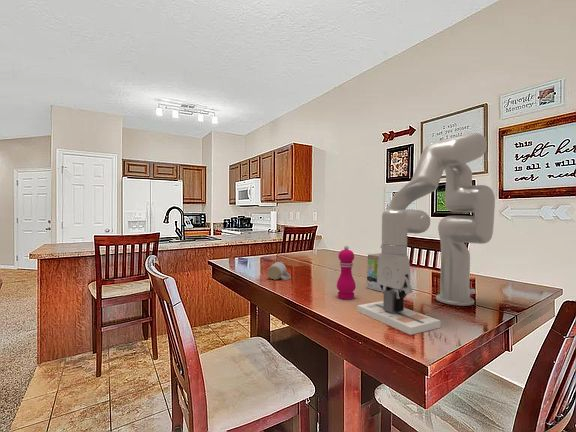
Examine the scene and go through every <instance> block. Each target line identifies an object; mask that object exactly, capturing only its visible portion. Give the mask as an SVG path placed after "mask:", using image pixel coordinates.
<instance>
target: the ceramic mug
mask: <svg viewBox="0 0 576 432" xmlns="http://www.w3.org/2000/svg"><path fill="white" fill-rule="evenodd" d="M267 276H268V277H269V279H271V280H272V279H273V281H277V280H280V279H282V280H284V281H289V280H290V279H291V274H289V273H288V272H287V267H286V265H285V264H284V263H283V262H281V261H276V262H274V263H273V264H271V265H270V266H269V267H268V269H267Z"/></svg>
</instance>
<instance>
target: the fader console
mask: <svg viewBox="0 0 576 432" xmlns="http://www.w3.org/2000/svg"><path fill="white" fill-rule="evenodd" d="M356 311H357V313H359V314H363V315H364V316H367V317H369V318H372V319H374V320H376V321H377V322H380V323H383V324H385V325H387V326H389V327H392V328H393V329H396V330H398V331H400V332H403V333H405V334H408V335H410V336H413V335H416V334H421V333H424V332H428V331H432V330H437V329H441V319H437V318H434V317H431V316H429V315H426V314H423V313H420V312H417V311H415V310H412V309H409V308H406V307H404V311H400V312H395V313H390V312H388V311H385V310H383V300H382V301H381V300H379V301H375V302H369V303H364V304H357V306H356Z"/></svg>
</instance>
